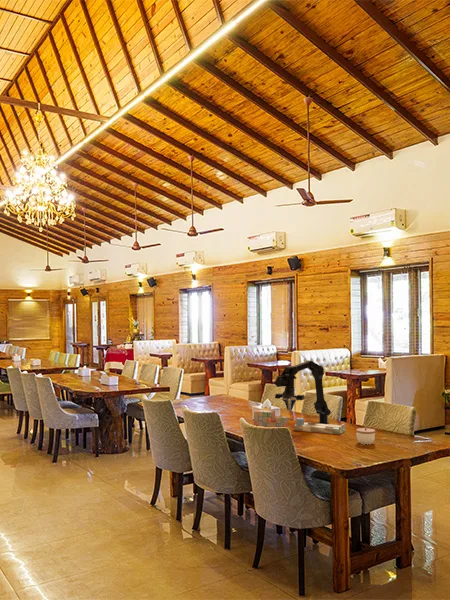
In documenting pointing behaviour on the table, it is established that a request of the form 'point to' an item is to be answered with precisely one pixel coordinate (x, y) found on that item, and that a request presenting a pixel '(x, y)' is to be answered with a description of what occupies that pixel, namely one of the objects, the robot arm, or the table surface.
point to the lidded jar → (365, 435)
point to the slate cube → (300, 421)
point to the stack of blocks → (269, 419)
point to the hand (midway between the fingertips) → (289, 410)
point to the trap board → (321, 428)
